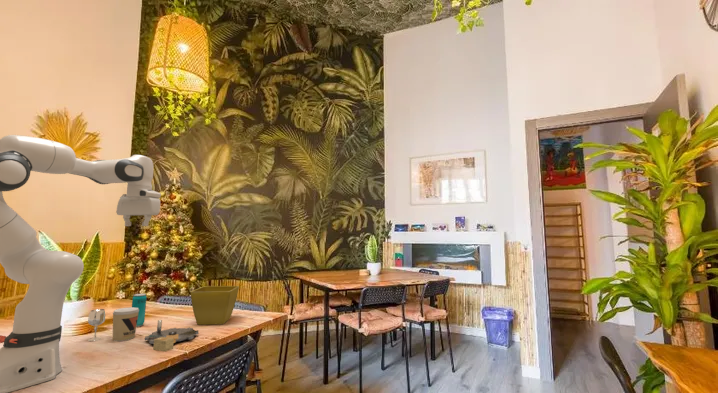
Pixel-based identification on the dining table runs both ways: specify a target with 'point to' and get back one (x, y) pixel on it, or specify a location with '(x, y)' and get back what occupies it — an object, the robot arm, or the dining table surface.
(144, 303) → the beverage can
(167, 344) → the tall wooden block
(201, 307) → the flower pot
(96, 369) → the dining table surface
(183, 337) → the sprocket
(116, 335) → the coffee cup
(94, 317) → the wineglass
